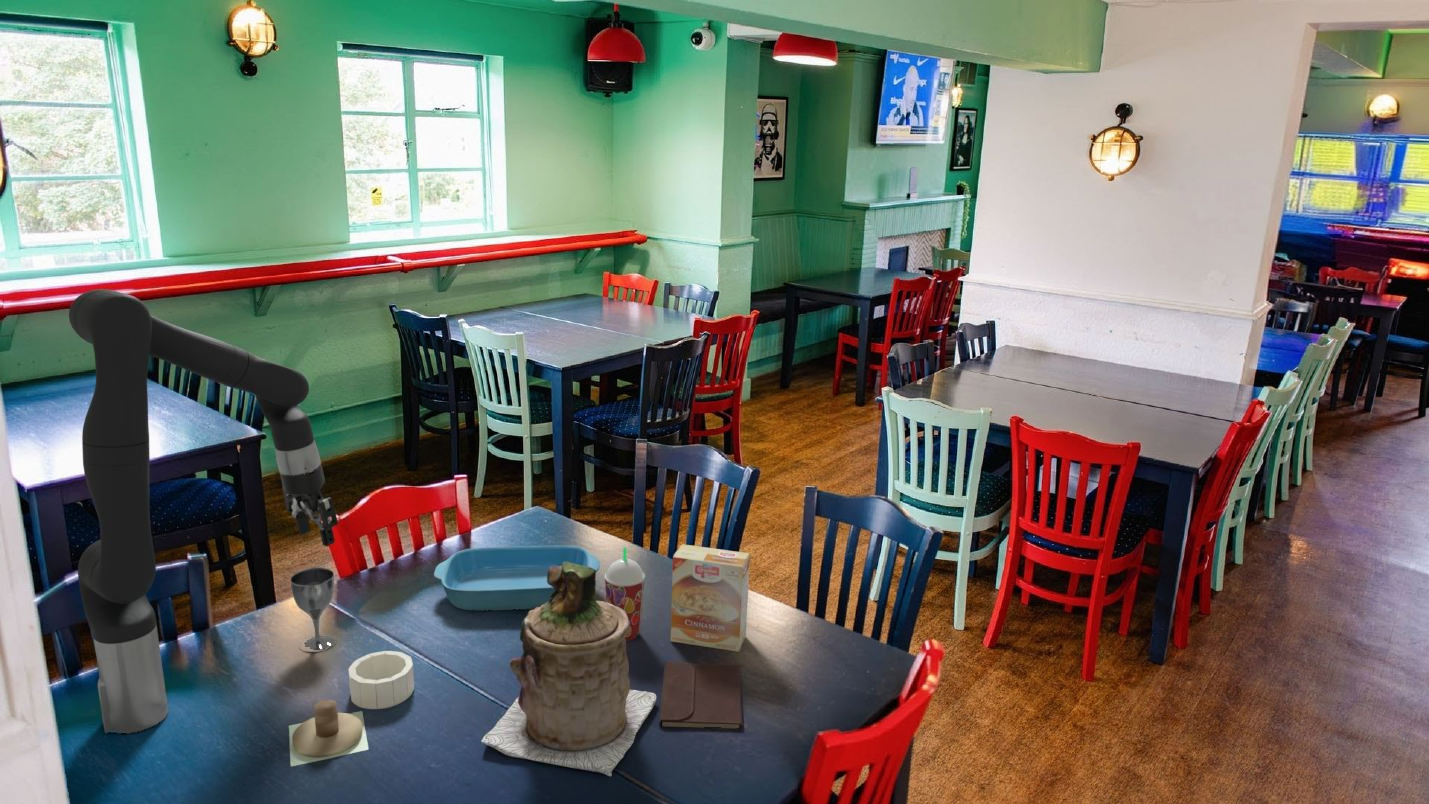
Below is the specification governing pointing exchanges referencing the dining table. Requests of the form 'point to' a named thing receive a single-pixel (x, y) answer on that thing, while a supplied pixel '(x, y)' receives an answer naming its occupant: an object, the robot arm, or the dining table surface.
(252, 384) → the robot arm
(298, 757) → the mat
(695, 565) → the coffeecake box
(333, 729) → the lid
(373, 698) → the bowl
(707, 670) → the notebook
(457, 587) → the casserole dish
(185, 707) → the dining table surface
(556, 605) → the cookie jar
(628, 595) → the smoothie
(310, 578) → the wine glass
